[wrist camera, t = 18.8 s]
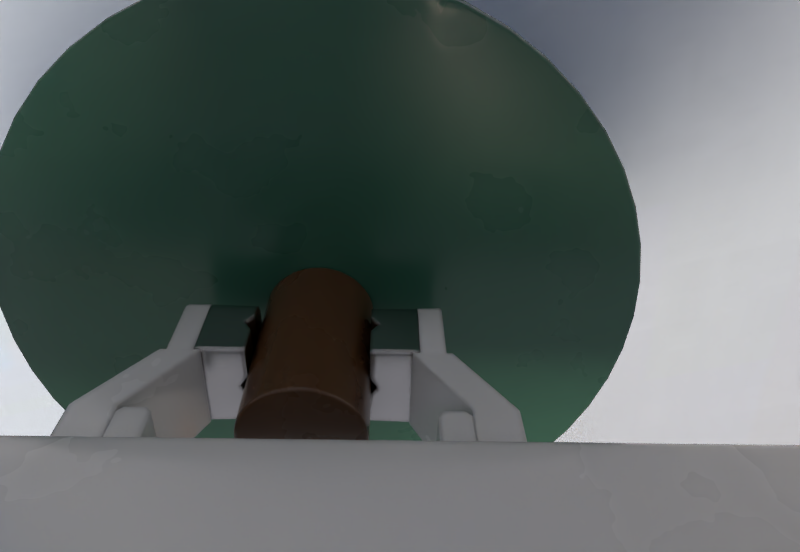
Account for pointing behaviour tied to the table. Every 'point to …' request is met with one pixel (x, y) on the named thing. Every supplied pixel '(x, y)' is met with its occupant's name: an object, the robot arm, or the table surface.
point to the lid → (317, 206)
